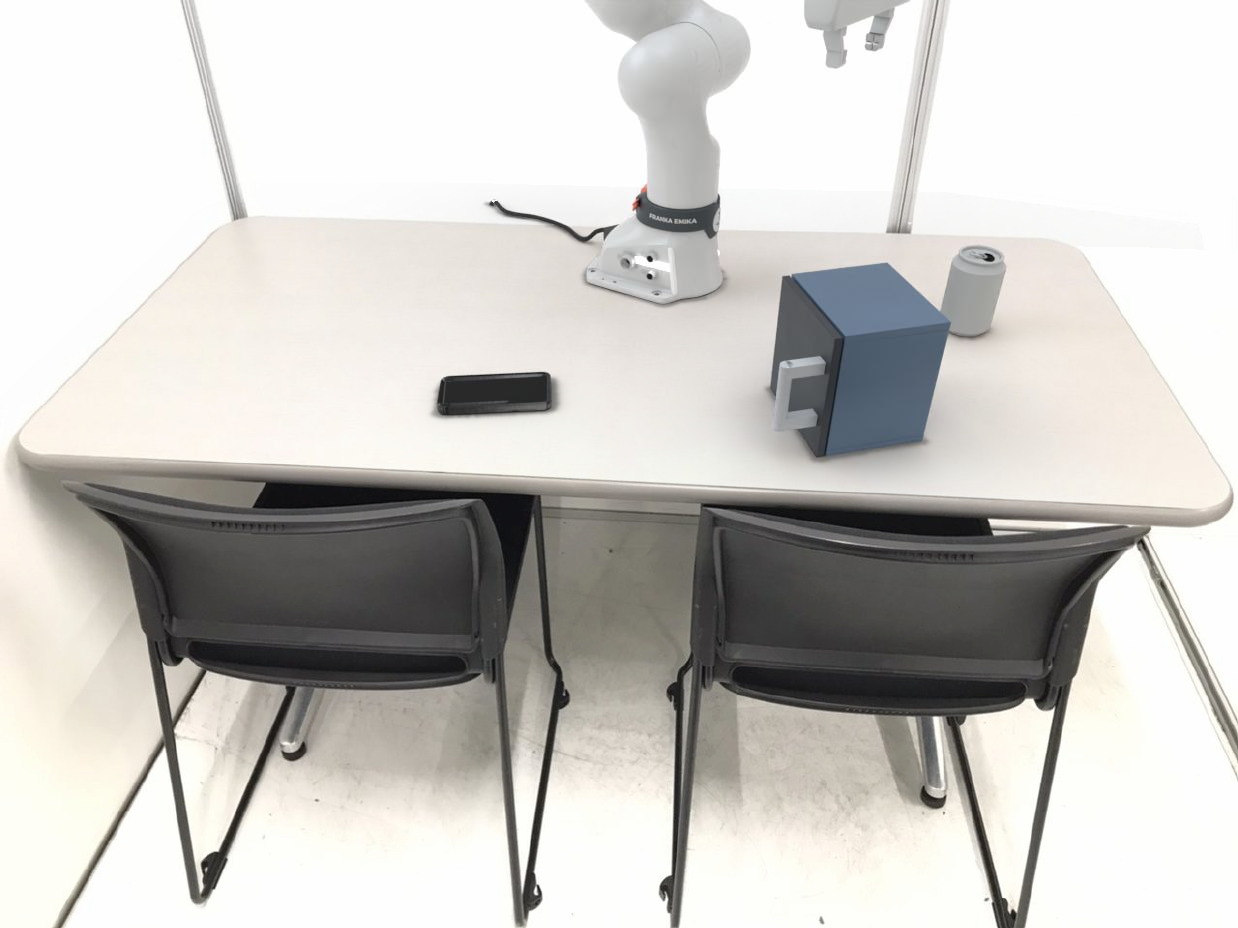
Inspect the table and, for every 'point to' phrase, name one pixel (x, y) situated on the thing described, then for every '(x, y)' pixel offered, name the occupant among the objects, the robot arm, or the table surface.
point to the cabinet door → (804, 367)
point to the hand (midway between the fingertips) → (854, 58)
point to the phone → (494, 393)
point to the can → (973, 289)
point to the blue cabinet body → (878, 355)
